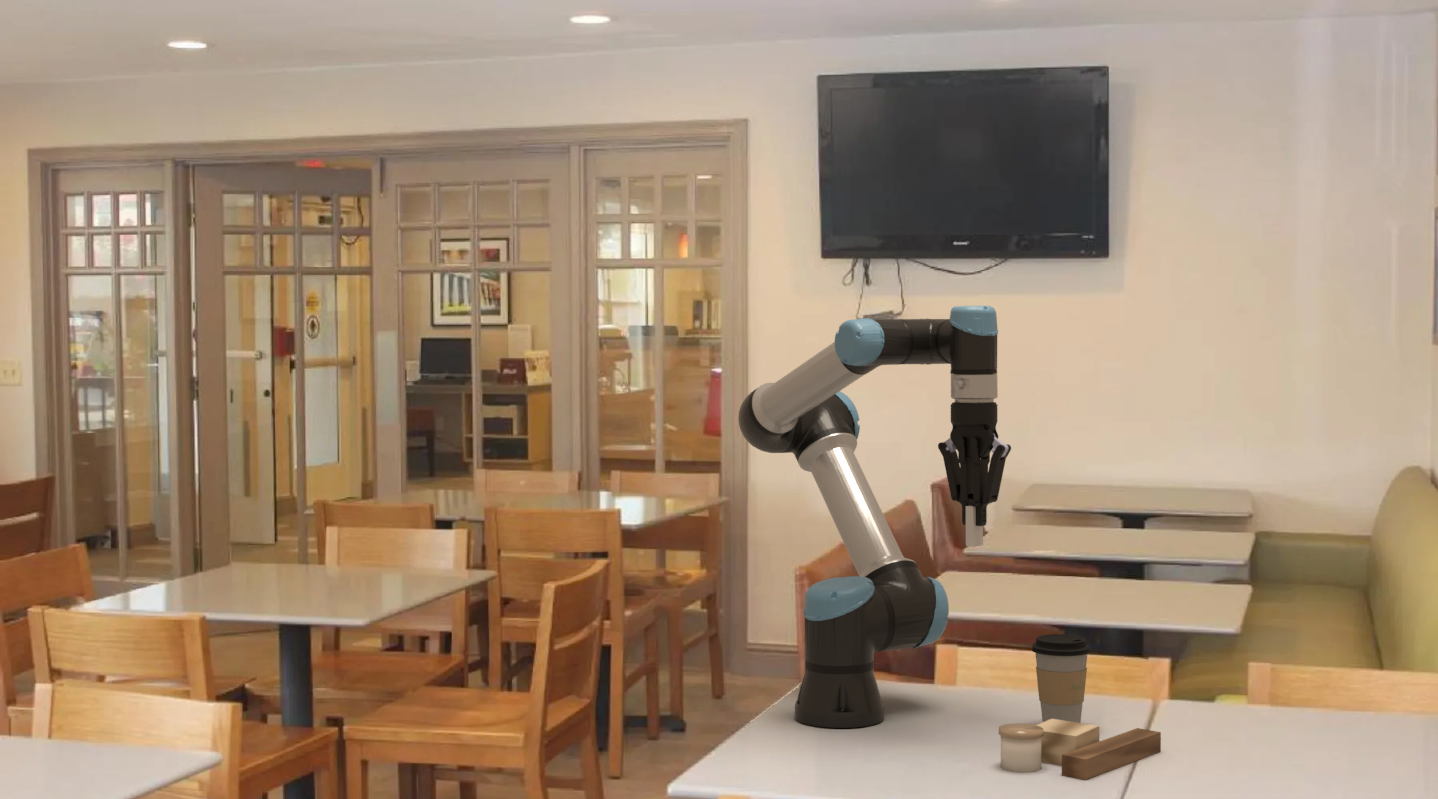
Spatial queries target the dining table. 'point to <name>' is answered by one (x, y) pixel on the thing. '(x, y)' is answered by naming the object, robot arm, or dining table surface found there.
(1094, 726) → the block
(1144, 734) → the board
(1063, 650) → the coffee cup
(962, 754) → the dining table surface
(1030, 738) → the sugar pot
